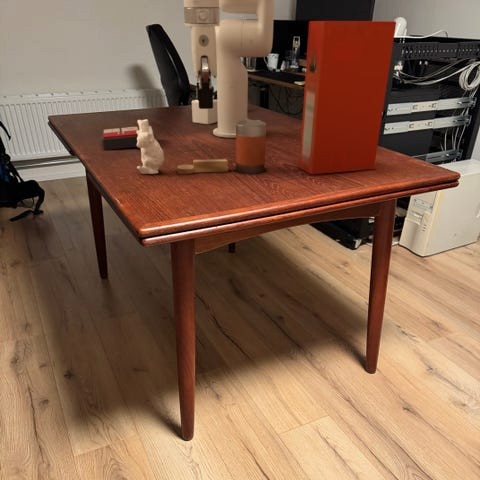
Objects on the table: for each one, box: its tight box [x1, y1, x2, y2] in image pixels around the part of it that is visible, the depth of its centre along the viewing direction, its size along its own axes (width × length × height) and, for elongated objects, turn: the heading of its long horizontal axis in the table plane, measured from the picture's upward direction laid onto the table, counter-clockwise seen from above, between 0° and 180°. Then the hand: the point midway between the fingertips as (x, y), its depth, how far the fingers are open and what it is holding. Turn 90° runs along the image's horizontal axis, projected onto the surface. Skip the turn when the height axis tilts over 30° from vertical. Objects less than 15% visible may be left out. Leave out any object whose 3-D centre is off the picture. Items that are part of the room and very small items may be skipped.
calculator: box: [101, 125, 157, 151], centre depth 141 cm, size 11×4×15 cm
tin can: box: [235, 119, 267, 175], centre depth 117 cm, size 7×7×11 cm
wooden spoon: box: [176, 158, 229, 175], centre depth 118 cm, size 12×4×3 cm, turn 96°
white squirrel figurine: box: [136, 119, 165, 175], centre depth 115 cm, size 8×7×12 cm
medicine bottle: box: [191, 85, 218, 125], centre depth 168 cm, size 7×7×12 cm
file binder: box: [298, 20, 397, 176], centre depth 113 cm, size 8×17×32 cm, turn 108°
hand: (204, 104), depth 111 cm, fingers open, 9 cm apart
